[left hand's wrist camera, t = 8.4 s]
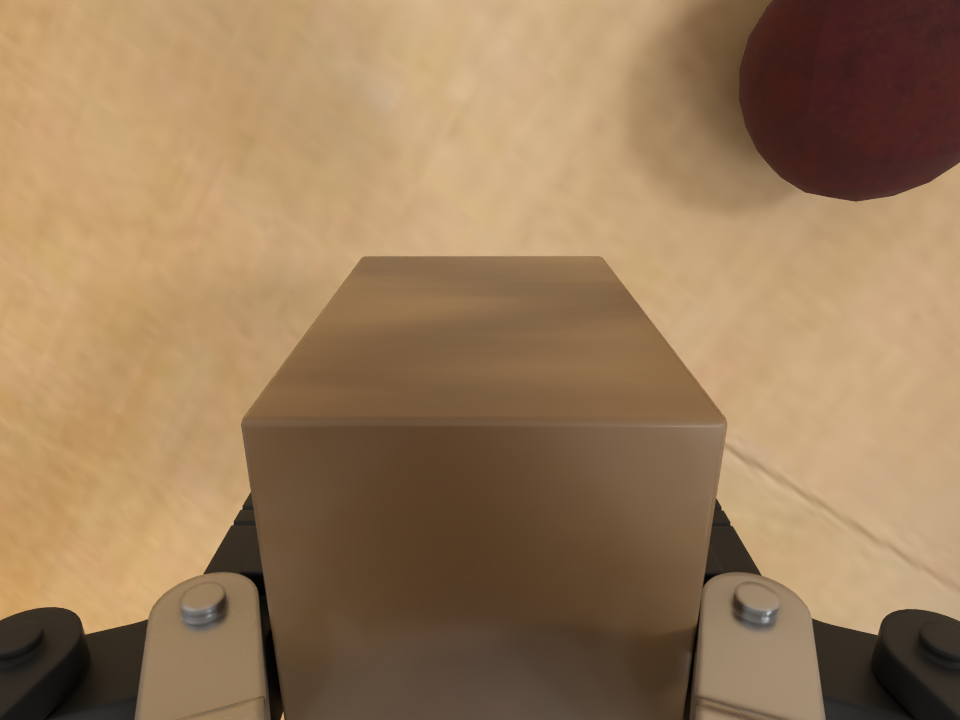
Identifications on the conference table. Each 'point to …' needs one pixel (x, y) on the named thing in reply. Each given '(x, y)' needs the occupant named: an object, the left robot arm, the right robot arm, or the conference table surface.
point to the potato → (855, 93)
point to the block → (483, 497)
